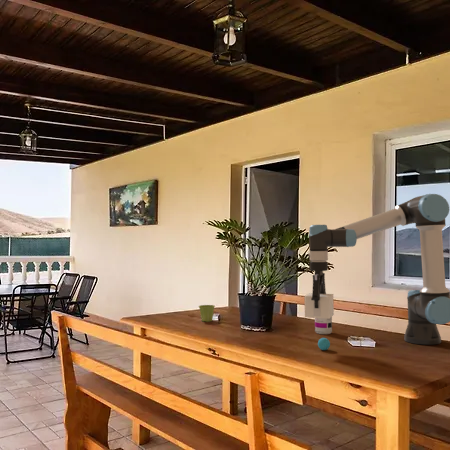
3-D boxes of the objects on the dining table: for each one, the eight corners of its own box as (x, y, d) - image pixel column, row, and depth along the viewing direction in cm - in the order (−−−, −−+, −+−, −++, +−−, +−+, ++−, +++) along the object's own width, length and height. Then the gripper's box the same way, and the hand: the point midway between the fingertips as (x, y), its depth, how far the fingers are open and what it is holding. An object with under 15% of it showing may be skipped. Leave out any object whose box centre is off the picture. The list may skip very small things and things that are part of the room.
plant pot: (196, 320, 271) (196, 305, 272) (211, 319, 275) (211, 304, 276) (202, 322, 263) (202, 307, 263) (217, 321, 267) (217, 306, 267)
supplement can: (319, 335, 226) (319, 303, 227) (312, 331, 234) (311, 301, 235) (335, 334, 228) (334, 303, 229) (327, 330, 236) (326, 301, 237)
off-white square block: (333, 314, 199) (333, 294, 200) (329, 318, 190) (329, 296, 190) (309, 313, 203) (309, 293, 203) (304, 317, 194) (304, 296, 194)
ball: (316, 343, 199) (325, 351, 197) (314, 345, 194) (324, 353, 193) (323, 334, 198) (333, 342, 196) (321, 336, 193) (331, 344, 192)
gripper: (315, 260, 209) (315, 309, 209) (303, 262, 188) (304, 317, 187) (332, 260, 206) (333, 310, 206) (322, 262, 185) (323, 318, 185)
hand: (319, 314), depth 197 cm, fingers closed on off-white square block, 10 cm apart
